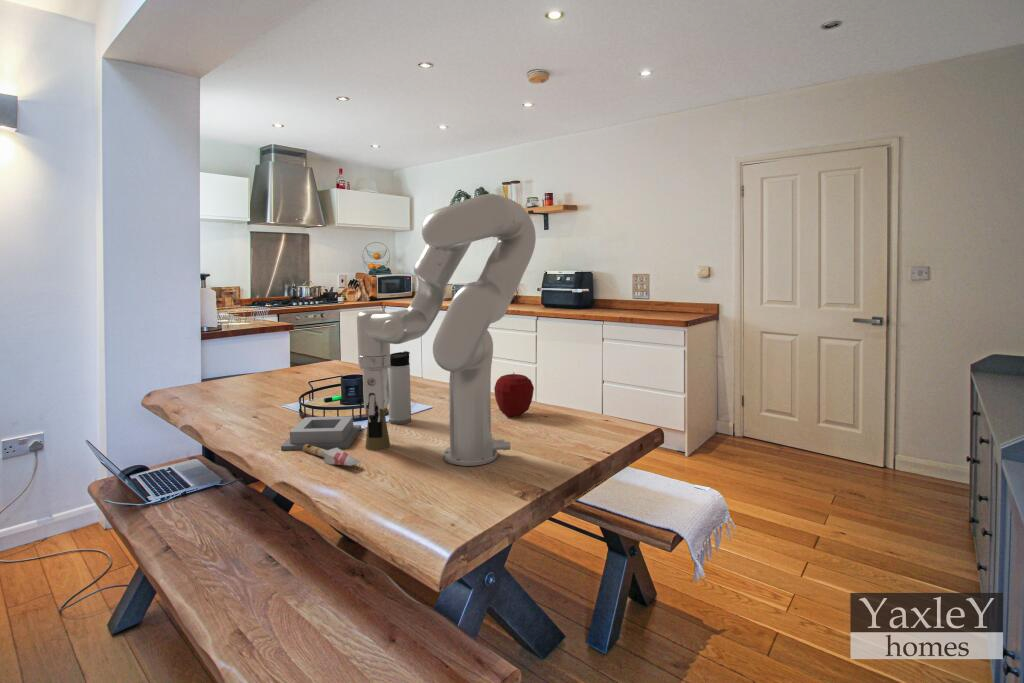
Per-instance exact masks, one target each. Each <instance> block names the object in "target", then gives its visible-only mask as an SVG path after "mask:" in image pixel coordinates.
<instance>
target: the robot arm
mask: <svg viewBox="0 0 1024 683" xmlns="http://www.w3.org/2000/svg"><path fill="white" fill-rule="evenodd" d="M422 223H423V224H422V227H421V235H422V239H423V241H424V243H425V244H426V245H425V247H424V248H423V250H422V251H421V253H420V255H419V257H418V259H417V261H416V262H415V264H414V266H413V272H414V274H415V276H416V278H417V282H418V286H417V290H416V293H415V295H414V296H413V299H412V300H411V302H410V304H409V306H408V307H407V309H402V310H398V311H390V312H386V311H384V310H363V311H360V312H358V313H357V316H356V330H357V333H356V334H357V355H358V356H357V357H358V360H357V361H358V370H362V382H363V383H362V385H363V386H362V388H363V391H362V392H363V393H362V394H363V407H364V410H368V416H367V425H368V431H369V438H381V437H382V421H381V409H382V410H385V409H386V407H387V408H388V407H389V405H388V404H389V402H390V391H389V378H388V368H390V367H391V363H390V354H391V344H392V345H400V344H404V343H407V342H409V341H414V340H418V339H420V338H422V337H423V336H424V335H425V334H426V333H427V332H428V330H429V329H430V328H431V326H432V325H433V323H434V321H435V320H436V319H437V316H438V315H439V313H440V311H441V308H442V306H443V304H444V300H445V297H446V292H447V291H446V290H447V286H448V284H449V282H450V280H451V279H452V277H453V275H454V273H455V271H456V270H457V268H458V267H459V265H460V262H461V261H462V260H463V258H464V256H465V255H466V253H467V252H468V250H469V248H470V246H471V244H472V243H473V242H476V241H480V240H483V239H488V238H497V243H496V244H495V247H494V249H493V250H492V251H491V253H490V255H489V256H488V258H487V261H486V262H485V265H484V267H483V270H482V271H481V274H480V275H479V277H478V279H477V281H472V282H469V283H467V284H464V285H463V286H461V287H460V288H459V289H458V290H457V292H455V294H454V296H453V297H452V299H451V302H450V303H449V305H448V307H447V310H446V312H445V315H444V316H443V318H442V320H441V323H440V325H439V328H438V330H437V332H436V334H435V337H434V340H433V344H432V354H433V358H434V361H435V362H436V365H437V366H439V367H440V368H441V369H442V370H444V371H447V372H449V378H448V380H449V381H448V382H449V383H448V386H449V388H448V390H449V392H448V393H449V396H448V397H449V398H448V399H449V403H448V404H449V405H448V406H449V447H448V448H446V449H445V450H444V451H443V459H444V460H445V461H446V462H448V463H450V464H452V465H455V466H462V467H475V466H476V467H477V466H482V465H486V464H489V463H491V462H493V461H494V460H496V459H497V457H498V451H499V450H502V451H510V450H511V441H505V439H495V438H493V435H492V434H493V433H492V431H491V430H492V429H491V427H492V426H491V425H492V424H491V423H492V420H491V418H492V416H491V412H492V411H491V410H492V409H491V406H492V405H491V402H492V400H491V398H492V397H491V391H492V390H491V388H492V386H491V384H492V382H491V381H492V380H491V378H492V375H491V374H492V363H493V355H494V341H493V337H492V335H491V332H490V331H489V330H488V329H489V326H490V325H491V324H494V323H496V322H498V321H500V320H501V319H503V317H504V316H505V315H506V313H507V312H508V310H509V307H510V305H511V302H512V300H513V298H514V296H515V293H516V291H517V290H518V288H519V286H520V284H521V281H522V278H523V276H524V274H525V272H526V270H527V268H528V266H529V264H530V261H531V259H532V257H533V254H534V250H535V247H536V240H537V239H536V235H537V234H536V227H535V225H534V222H533V220H532V218H531V216H530V215H529V213H528V212H527V210H526V209H525V208H524V207H523V206H522V205H521V204H519V203H518V202H517V201H515V200H513V199H511V198H507V197H504V196H502V195H499V194H495V193H486V194H481V195H478V196H474V197H471V198H468V199H465V200H463V201H460V202H456V203H453V204H450V205H448V206H444V207H442V208H438V209H436V210H434V211H432V212H431V213H430V214H428V215H427V216H426V218H425V219H424V221H423V222H422ZM375 407H378V409H375ZM375 412H378V414H377V413H375Z"/></svg>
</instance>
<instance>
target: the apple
mask: <svg viewBox="0 0 1024 683" xmlns="http://www.w3.org/2000/svg"><path fill="white" fill-rule="evenodd" d="M493 388H494V390H493V391H494V397H495V401H496V403H497V406H498V409H499V411H500V412H501V413H502V414H503V415H504V416H505V417H506V418H511V419H513V418H514V419H515V418H519V417H521V416H523V415H524V414H525V413H526V412H527V411H528V410H529V409H530V407H531V403H532V401H533V396H534V390H535V388H534V385H533V381H532V380H531V379H530V378H529V377H528V376H527V375H524V374H519V373H515V372H513V373H511V374H505V375H501V376H500V377H499V378H497V380H496V382H495V384H494V387H493Z"/></svg>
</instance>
